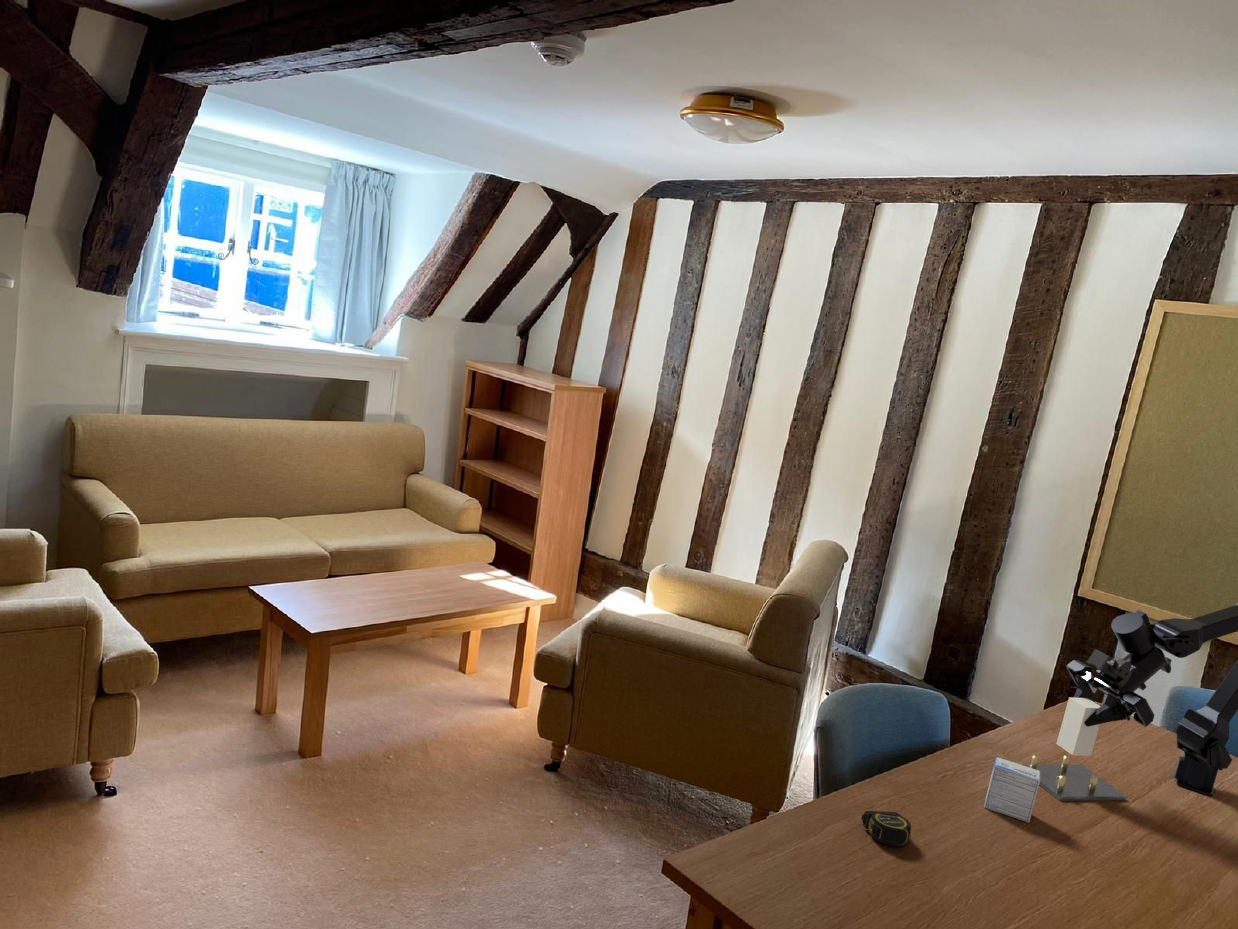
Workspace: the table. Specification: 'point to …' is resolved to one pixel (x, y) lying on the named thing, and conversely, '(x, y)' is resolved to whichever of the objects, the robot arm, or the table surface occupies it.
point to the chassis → (1074, 782)
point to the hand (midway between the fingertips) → (1076, 718)
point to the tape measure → (887, 827)
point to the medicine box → (1012, 789)
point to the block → (1078, 727)
